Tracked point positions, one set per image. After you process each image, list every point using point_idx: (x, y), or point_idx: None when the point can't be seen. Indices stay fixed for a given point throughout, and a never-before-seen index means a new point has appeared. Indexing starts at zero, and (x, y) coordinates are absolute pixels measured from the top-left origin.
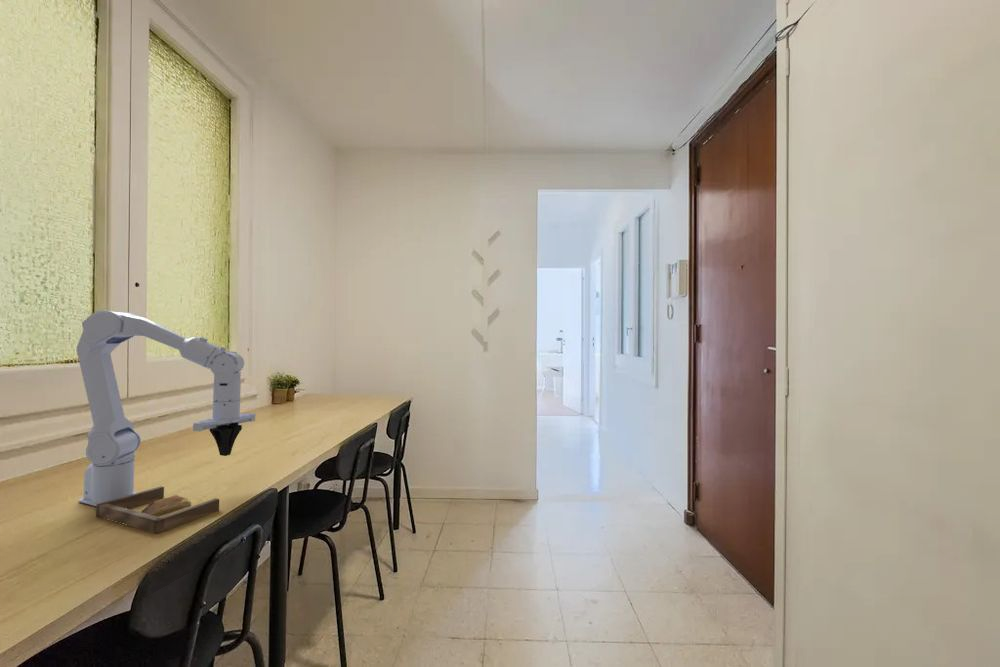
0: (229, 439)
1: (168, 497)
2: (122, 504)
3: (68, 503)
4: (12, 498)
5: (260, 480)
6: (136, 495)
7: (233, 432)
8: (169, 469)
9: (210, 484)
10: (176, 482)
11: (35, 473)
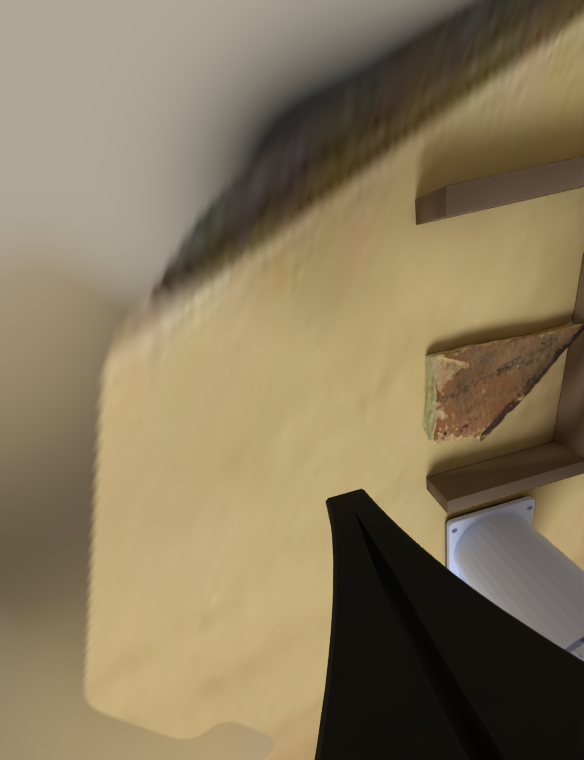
0: (420, 606)
1: (452, 437)
2: (535, 460)
3: None
4: None
5: (154, 429)
6: (517, 478)
7: (447, 733)
8: (307, 675)
9: (297, 504)
10: None
11: None
